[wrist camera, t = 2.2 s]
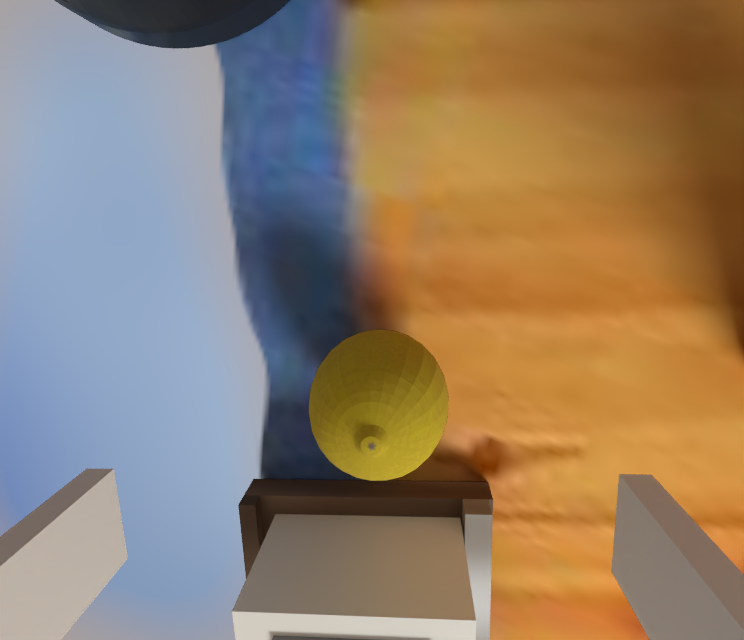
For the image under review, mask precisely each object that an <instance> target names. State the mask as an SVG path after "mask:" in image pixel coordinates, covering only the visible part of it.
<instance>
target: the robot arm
mask: <svg viewBox="0 0 744 640" xmlns="http://www.w3.org/2000/svg"><path fill="white" fill-rule="evenodd" d="M55 1H56V2H58V3H59V4H61V5H62V6H64V7H66V8H67V9H69V10H71V11H72V12H74V13H76V14H78V15H79V16H81V17H83V18H84V19H86V20H88V21H90V22H91V23H93V24H95V25H97V26H98V27H100V28H102V29H104V30H106V31H108V32H110V33H112V34H114V35H117V36H119V37H122V38H124V39H128V40H130V41H133V42H137V43H140V44H145V45H149V46H156V47H162V48H193V47H201V46H206V45H212V44H216V43H219V42H223V41H226V40H229V39H231V38H234V37H236V36H239V35H241V34H243V33H245V32H247V31H249V30H251V29H253V28H254V27H256V26H258V25H260V24H261V23H263V22H264V21H266V20H267V19H268V18H270V17H271V16H273V15H274V14H275V13H276V12H278V11H279V10H280V9H281V8H282V7H284V6H285V5H286V4H287V3H288V2H289V1H290V0H55ZM127 558H128V557H127V550H126V544H125V538H124V532H123V525H122V519H121V512H120V506H119V500H118V493H117V487H116V481H115V474H114V469H86V470H85V471H83V472H82V473H81V474H79V475H78V476H77V477H76V478H74V479H73V480H72V481H71V482H69V483H68V484H67V485H66V486H64V487H63V488H62V489H60V490H59V491H58V492H57V493H55V494H54V495H53V496H52V497H50V498H49V499H48V500H46V501H45V502H44V503H43V504H41V505H40V506H39V507H37V508H36V509H35V510H34V511H32V512H31V513H30V514H29V515H27V516H26V517H25V518H23V519H22V520H21V521H20V522H18V523H17V524H16V525H15V526H13V527H12V528H11V529H9V530H8V531H7V532H6V533H4V534H3V535H2V536H1V537H0V640H61V639H62V638H63V636H64V635H65V634H66V633H67V632H68V631H69V629H70V628H71V627H72V625H73V624H74V623H75V622H76V621H77V620H78V618H79V617H80V616H81V615H82V613H83V612H84V611H85V610H86V608H87V607H88V606H89V605H90V604H91V603H92V601H93V600H94V599H95V598H96V596H97V595H98V594H99V593H100V592H101V590H102V589H103V588H104V587H105V586H106V584H107V583H108V582H109V581H110V579H111V578H112V577H113V576H114V575H115V573H116V572H117V571H118V570H119V568H120V567H121V566H122V565H123V563H124V562H125V561H126V560H127ZM612 573H613V575H614V577H615V579H616V580H617V582H618V584H619V586H620V587H621V589H622V591H623V593H624V595H625V596H626V598H627V600H628V602H629V604H630V605H631V607H632V609H633V611H634V613H635V614H636V616H637V618H638V620H639V621H640V623H641V625H642V627H643V629H644V630H645V632H646V634H647V636H648V638H649V639H650V640H744V575H743V574H742V573H741V571H740V570H739V569H738V568H737V567H736V566H735V565H734V564H733V563H732V562H731V561H730V559H729V558H728V557H727V556H726V555H725V554H724V553H723V552H722V551H721V550H720V549H719V548H718V546H717V545H716V544H715V543H714V542H713V541H712V540H711V539H710V538H709V537H708V536H707V534H706V533H705V532H704V531H703V530H702V529H701V528H700V527H699V526H698V525H697V524H696V522H695V521H694V520H693V519H692V518H691V517H690V516H689V515H688V514H687V513H686V512H685V510H684V509H683V508H682V507H681V506H680V505H679V504H678V503H677V502H676V501H675V500H674V499H673V497H672V496H671V495H670V494H669V493H668V492H667V491H666V490H665V489H664V488H663V487H662V485H661V484H660V483H659V482H658V481H657V480H656V479H655V478H654V477H653V476H652V475H631V474H619V484H618V497H617V509H616V521H615V534H614V546H613V559H612Z"/></svg>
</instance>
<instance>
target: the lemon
mask: <svg viewBox="0 0 744 640" xmlns="http://www.w3.org/2000/svg"><path fill="white" fill-rule="evenodd" d="M448 400H449V396H448V390H447V386H446V382H445V378H444V374H443V372H442V370H441V369H440V367H439V365H438V363H437V361H436V359H435V358H434V356H433V355H432V354H431V353H430V352H429V351H428V350H427V349H426V348H425V347H424V346H423V345H422V344H421V343H419V342H418V341H416V340H414V339H413V338H411V337H410V336H408V335H405V334H402V333H399V332H396V331H392V330H379V329H376V330H370V331H364V332H360V333H358V334H356V335H353V336H351V337H349V338H346V339H345V340H343V341H342V342H341V343H340V344H338V345H337V346H336V347H335V348H333V349H332V350H331V351H330V352H329V354H328V355H327V356H326V358H325V359H324V360H323V362H322V363H321V364H320V366H319V367H318V370H317V372H316V375H315V377H314V380H313V383H312V385H311V389H310V400H309V416H310V422H311V428H312V432H313V435H314V437H315V439H316V441H317V444H318V446H319V448H320V450H321V451H322V452H323V453H324V455H325V456H326V457H327V458H328V460H329V461H330V462H331V463H333V464H334V465H335V466H336V467H338V468H339V469H340V470H342V471H343V472H345V473H348V474H350V475H352V476H354V477H356V478H360V479H365V480H370V481H384V480H391V479H395V478H399V477H402V476H404V475H406V474H408V473H410V472H412V471H414V470H415V469H417V468H418V467H419V466H420V465H421V464H422V463H423V462H424V461H425V460H427V459H428V458H429V457H430V455H431V454H432V452H433V451H434V449H435V447H436V446H437V444H438V443H439V441H440V439H441V437H442V434H443V431H444V428H445V425H446V421H447V418H448Z"/></svg>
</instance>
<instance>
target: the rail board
mask: <svg viewBox="0 0 744 640" xmlns="http://www.w3.org/2000/svg"><path fill="white" fill-rule="evenodd" d="M492 512H493V498H492V495H491V491H490V487H489V484H488V482H445V481H370V480H299V479H253V481H252V483H251V485H250V487H249V488H248V490H247V491H246V493H245V495H244V497H243V498H242V500H241V502H240V503H239V514H240V523H241V533H242V542H243V552H244V562H245V571H246V579H247V577H248V575H249V572H250V570H251V568H252V566H253V563H254V561H255V559H256V557H257V555H258V552H259V550H260V548H261V546H262V543H263V541H264V539H265V537H266V534H267V532H268V530H269V528H270V525H271V523H272V521H273V519H274V517H275V514H302V515H352V516H402V517H452V518H460V519H461V525H462V532H463V538H464V545H465V551H466V558H467V564H468V571H469V577H470V584H471V590H472V597H473V604H474V610H475V617H476V640H490V599H491V557H492Z"/></svg>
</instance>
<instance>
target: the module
mask: <svg viewBox="0 0 744 640" xmlns="http://www.w3.org/2000/svg"><path fill="white" fill-rule="evenodd" d="M232 616H233V624H234V633H235V640H476V617H475V610H474V604H473V597H472V590H471V584H470V577H469V571H468V564H467V558H466V551H465V545H464V538H463V532H462V525H461V519H460V518H452V517H402V516H352V515H302V514H275V517H274V519H273V521H272V523H271V525H270V528H269V530H268V532H267V534H266V537H265V539H264V541H263V543H262V546H261V548H260V550H259V552H258V555H257V557H256V559H255V561H254V563H253V566H252V568H251V570H250V572H249V575H248V577H247V579H246V582H245V584H244V586H243V589H242V590H241V593H240V595H239V597H238V599H237V601H236V604H235V606H234V608H233V610H232Z"/></svg>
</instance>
